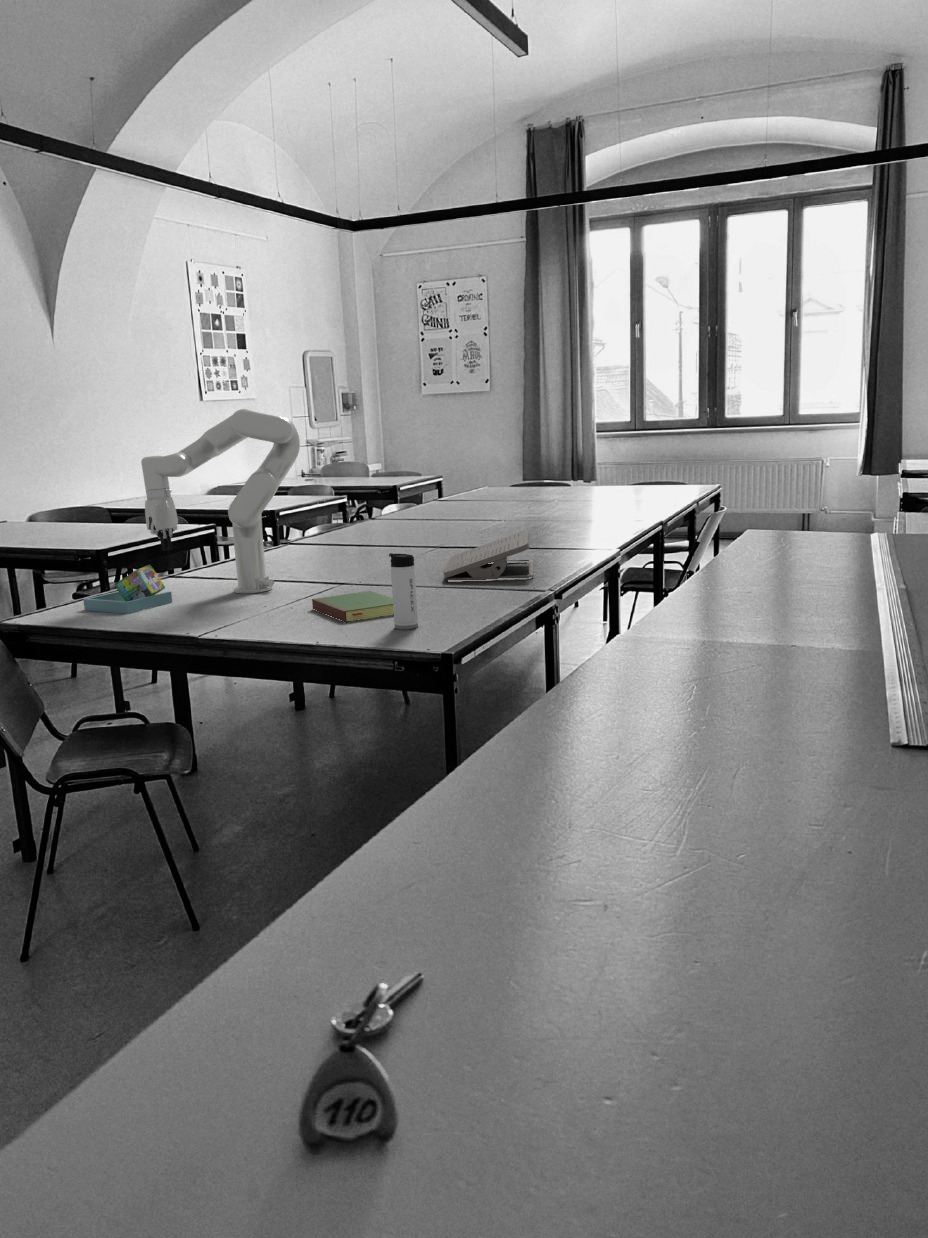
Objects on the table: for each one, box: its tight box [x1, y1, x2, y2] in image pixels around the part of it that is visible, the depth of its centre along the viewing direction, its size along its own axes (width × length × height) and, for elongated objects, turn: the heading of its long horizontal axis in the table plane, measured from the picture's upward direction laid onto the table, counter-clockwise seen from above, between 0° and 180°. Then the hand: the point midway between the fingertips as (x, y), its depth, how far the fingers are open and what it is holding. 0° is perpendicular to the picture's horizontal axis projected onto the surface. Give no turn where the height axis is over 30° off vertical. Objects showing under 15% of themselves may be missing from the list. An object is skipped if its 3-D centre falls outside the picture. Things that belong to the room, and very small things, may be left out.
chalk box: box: [114, 564, 166, 602], centre depth 313 cm, size 9×9×15 cm
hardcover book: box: [311, 590, 394, 623], centre depth 287 cm, size 25×19×4 cm
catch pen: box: [83, 590, 173, 615], centre depth 313 cm, size 19×18×4 cm
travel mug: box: [388, 552, 419, 631], centre depth 261 cm, size 6×7×20 cm
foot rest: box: [442, 529, 534, 580], centre depth 344 cm, size 39×30×13 cm
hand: (167, 550), depth 325 cm, fingers closed
